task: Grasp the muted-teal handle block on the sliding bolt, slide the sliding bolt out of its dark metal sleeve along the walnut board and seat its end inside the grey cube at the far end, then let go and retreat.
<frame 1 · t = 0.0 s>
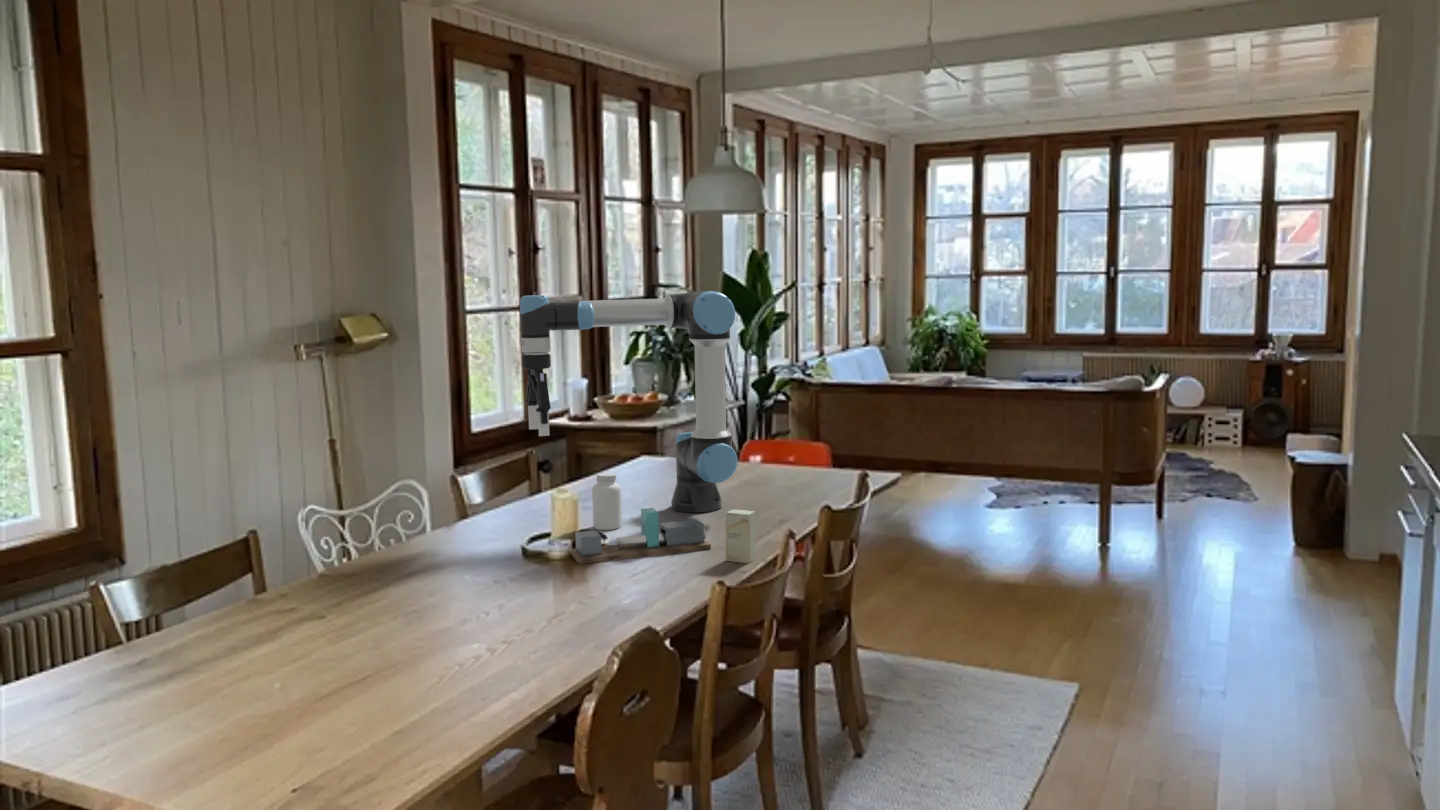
hand: (539, 432, 280), 28 cm above the table, fingers open, 13 cm apart
sleeve: (682, 546, 267), resting on board
pill bottle: (607, 528, 290), on the table
skincare box: (741, 561, 254), on the table
board: (641, 551, 263), on the table
grey cube: (588, 557, 258), resting on board
sliding bolt: (661, 526, 264), point 6 cm above the table, slide at 0.0 cm
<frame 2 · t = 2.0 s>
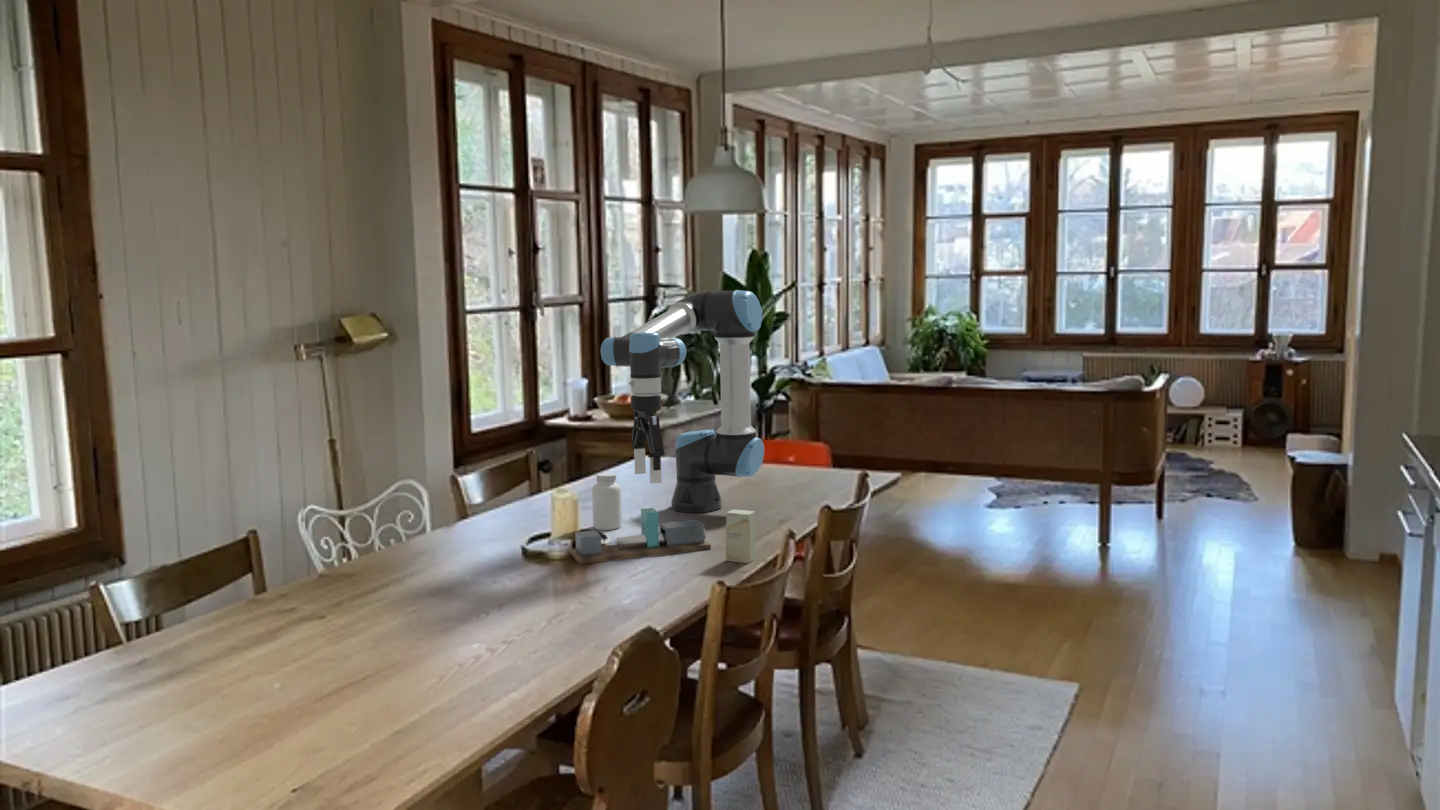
hand: (647, 478, 262), 19 cm above the table, fingers open, 13 cm apart
nothing on the table moved.
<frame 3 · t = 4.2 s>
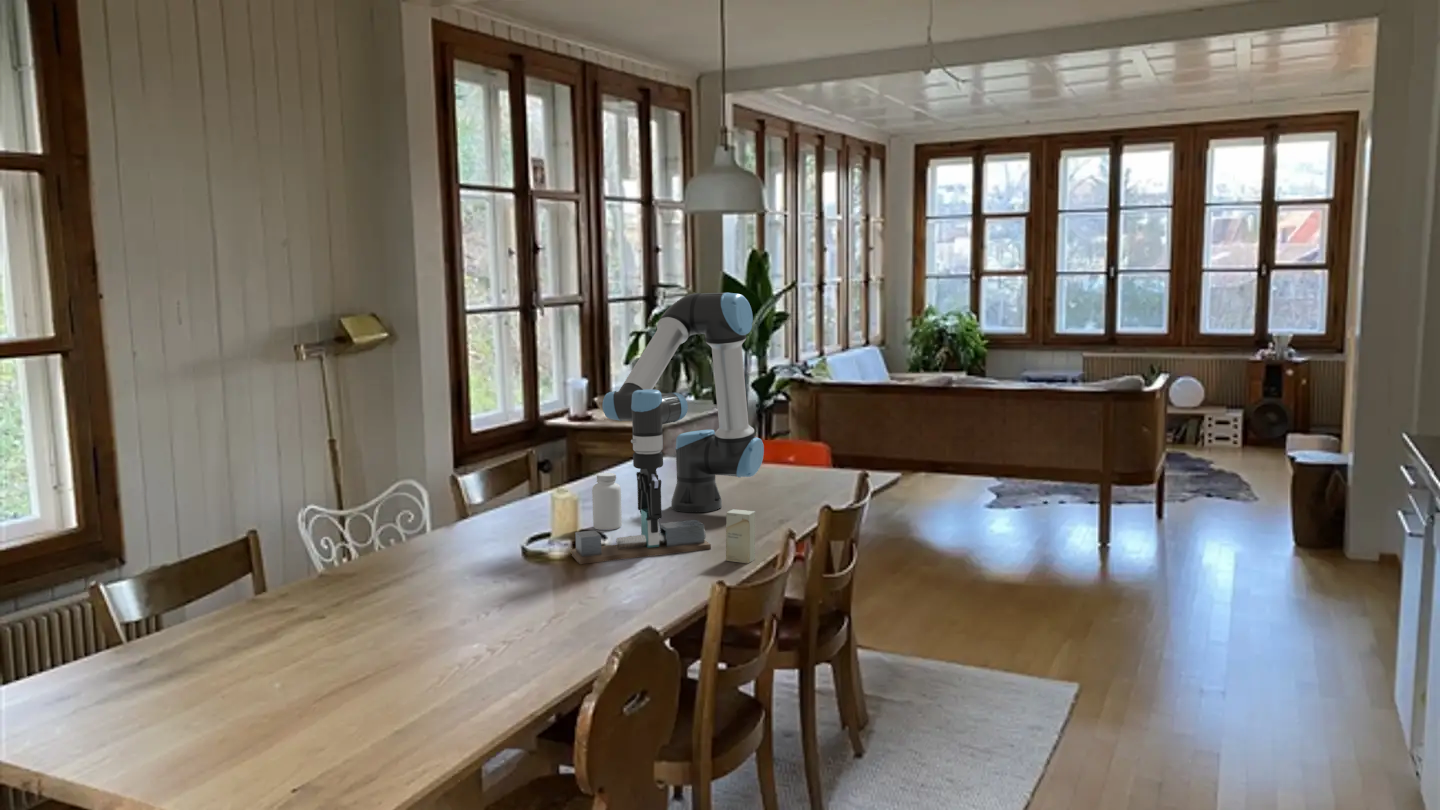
hand: (650, 541, 264), 2 cm above the table, fingers closed on sliding bolt, 5 cm apart
sliding bolt: (661, 526, 264), point 6 cm above the table, slide at 0.0 cm, touching gripper
everything else where it was.
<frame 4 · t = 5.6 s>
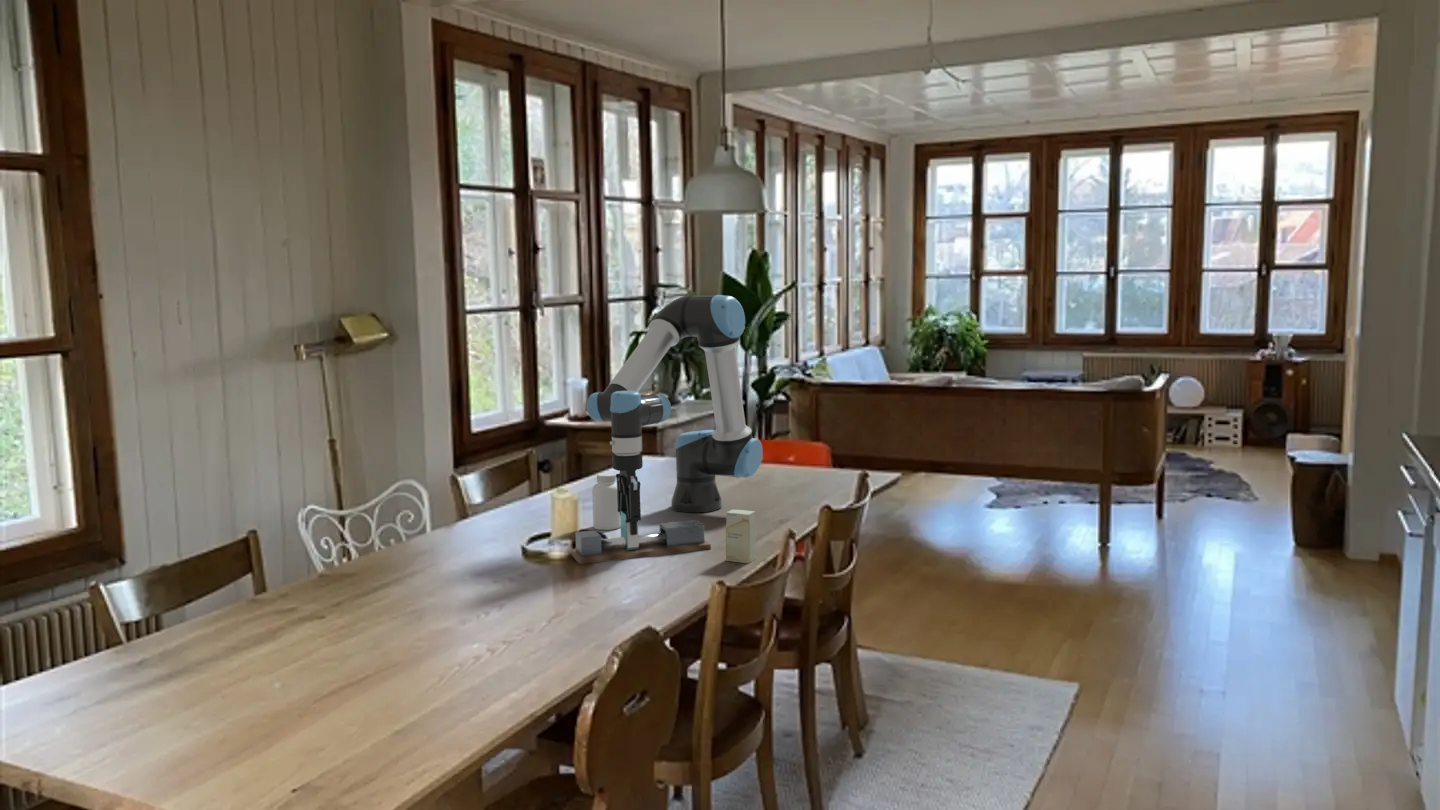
hand: (629, 544, 262), 2 cm above the table, fingers closed on sliding bolt, 5 cm apart
sliding bolt: (640, 528, 262), point 6 cm above the table, slide at 5.4 cm, touching gripper
everything else where it was.
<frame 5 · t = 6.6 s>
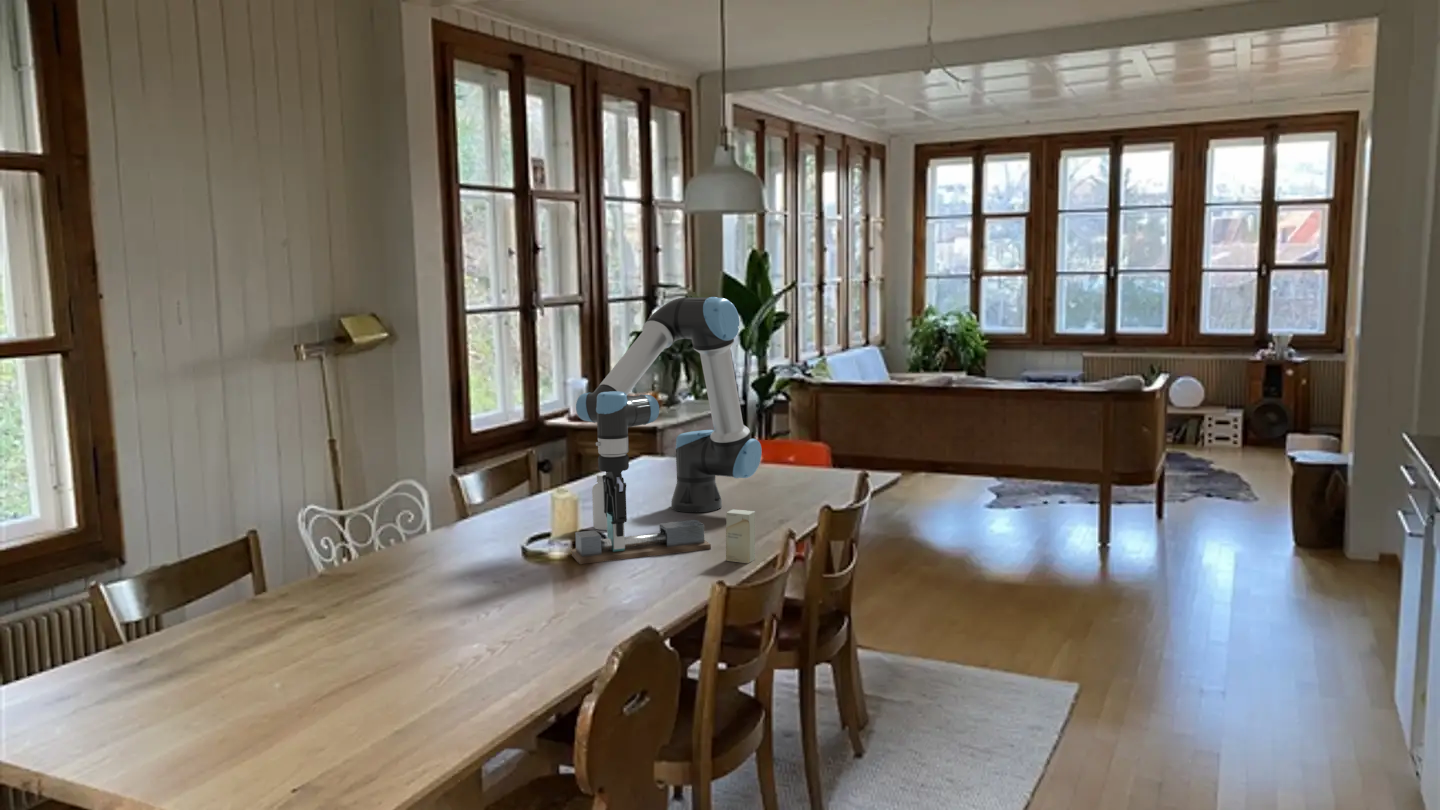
hand: (616, 545, 261), 2 cm above the table, fingers closed on sliding bolt, 5 cm apart
sliding bolt: (627, 530, 261), point 6 cm above the table, slide at 8.9 cm, touching gripper
everything else where it was.
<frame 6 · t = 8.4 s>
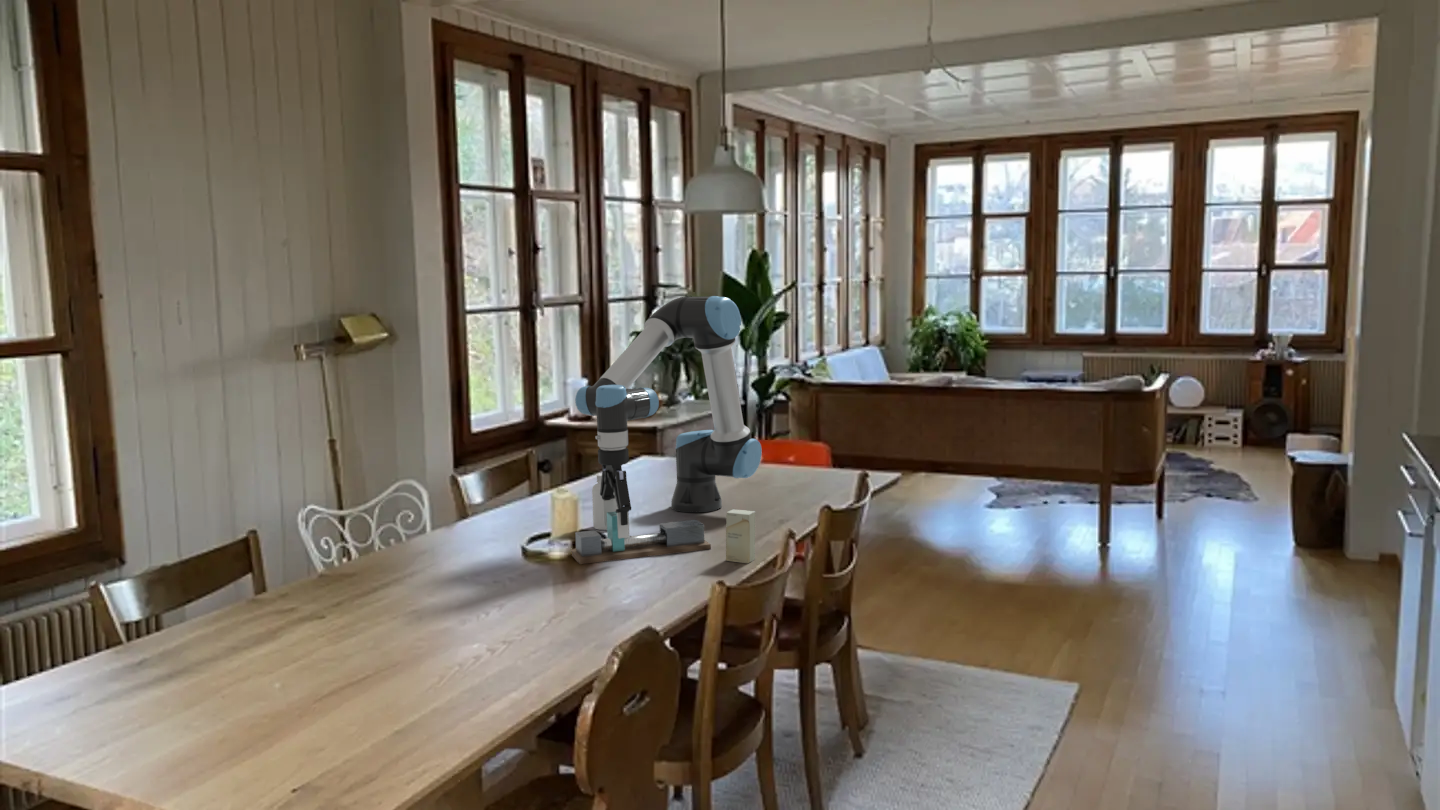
hand: (616, 531, 260), 6 cm above the table, fingers open, 13 cm apart
sliding bolt: (627, 530, 261), point 6 cm above the table, slide at 9.0 cm
everything else where it was.
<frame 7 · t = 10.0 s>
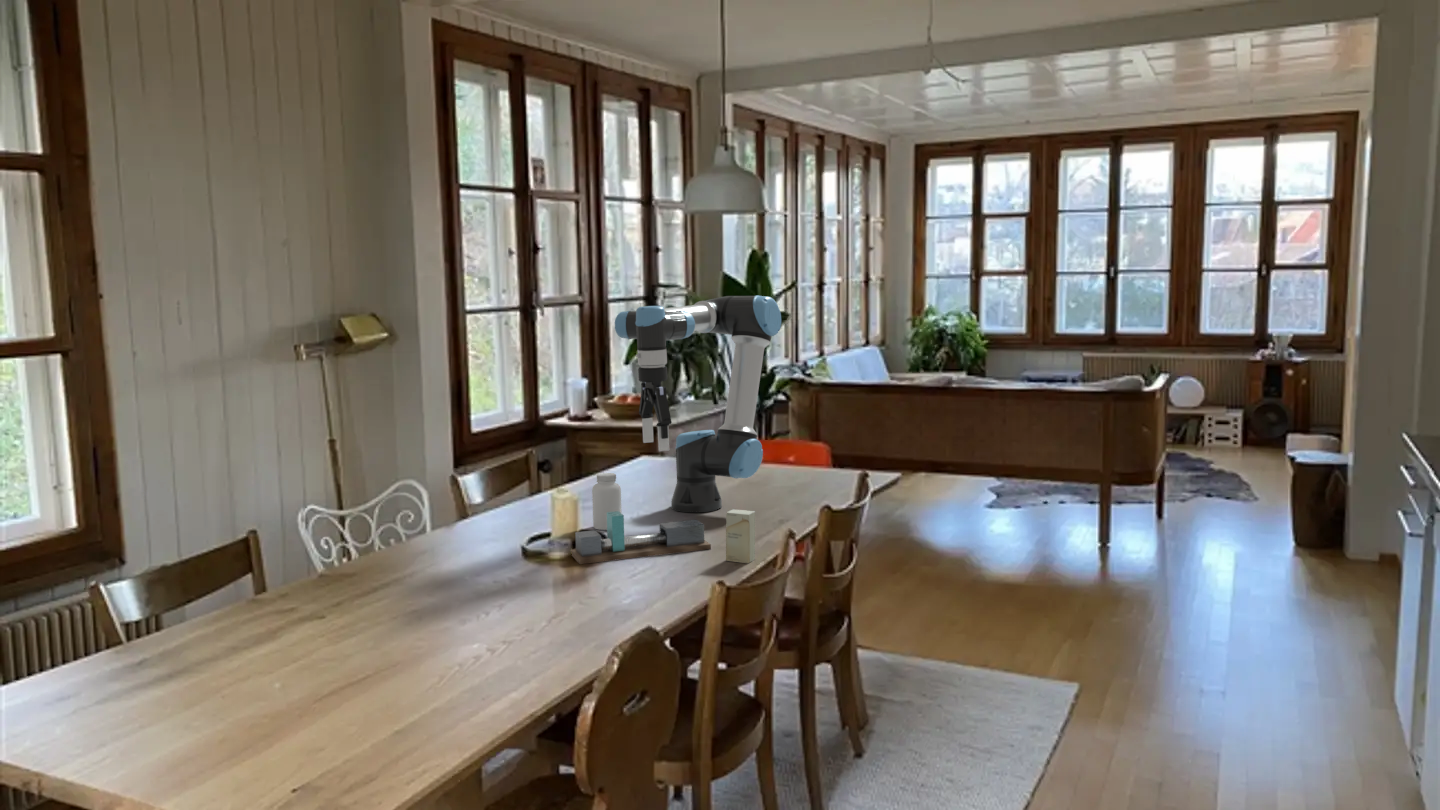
hand: (656, 446, 273), 25 cm above the table, fingers open, 13 cm apart
nothing on the table moved.
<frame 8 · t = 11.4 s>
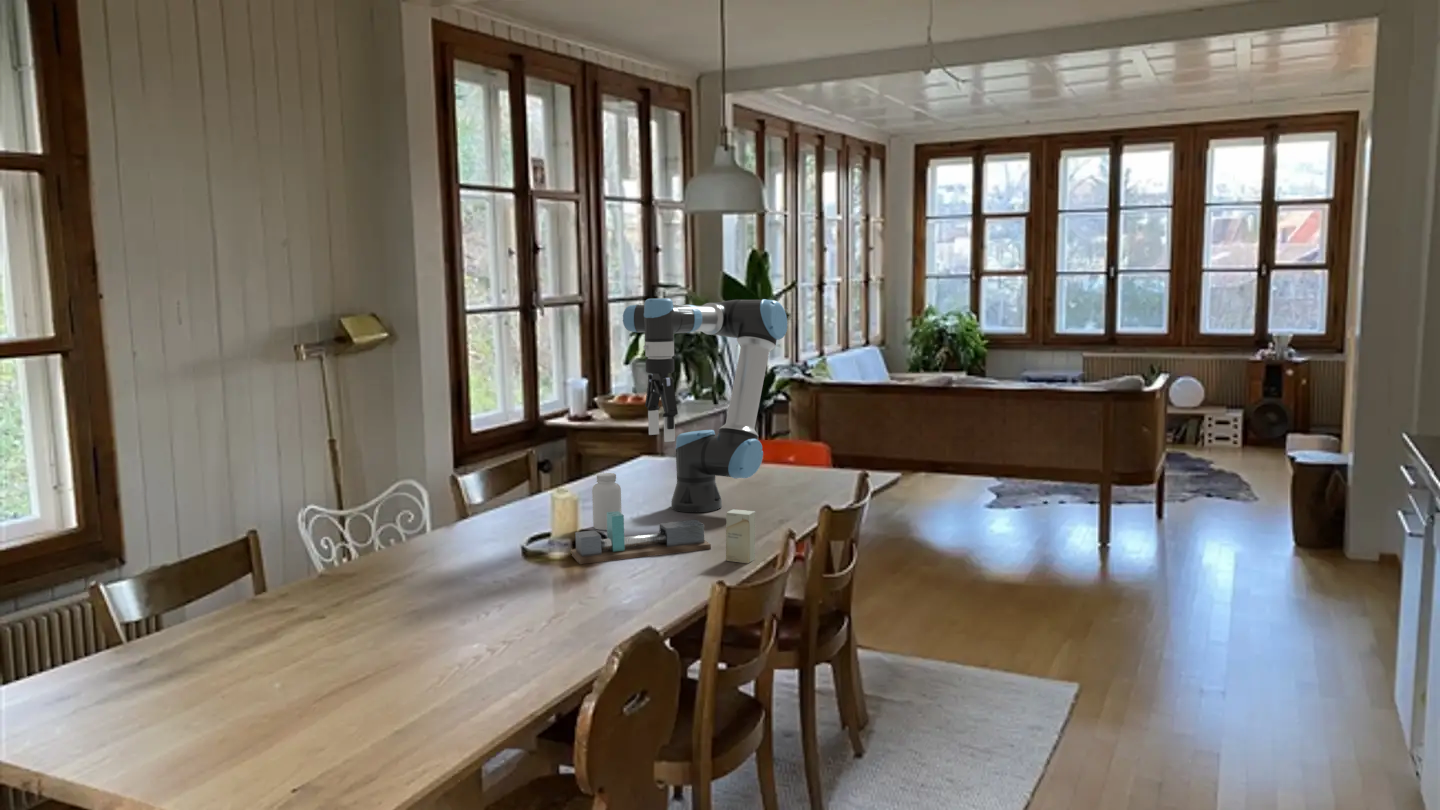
hand: (661, 438, 275), 27 cm above the table, fingers open, 13 cm apart
nothing on the table moved.
at the end: sliding bolt slide at 9.0 cm; the gripper is holding nothing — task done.
